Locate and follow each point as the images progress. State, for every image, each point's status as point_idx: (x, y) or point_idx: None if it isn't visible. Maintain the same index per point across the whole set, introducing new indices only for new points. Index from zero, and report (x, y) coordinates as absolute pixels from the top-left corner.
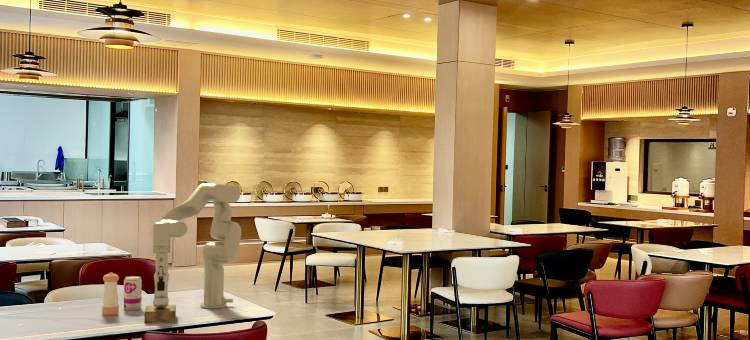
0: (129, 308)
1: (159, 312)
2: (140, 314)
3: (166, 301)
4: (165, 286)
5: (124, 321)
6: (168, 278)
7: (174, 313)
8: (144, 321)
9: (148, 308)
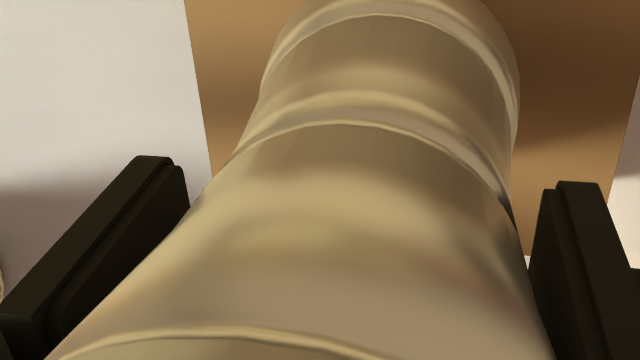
0: (2, 287)
1: (634, 75)
2: None
3: (483, 16)
4: (495, 210)
5: None
6: (367, 321)
7: None
8: None
9: None
